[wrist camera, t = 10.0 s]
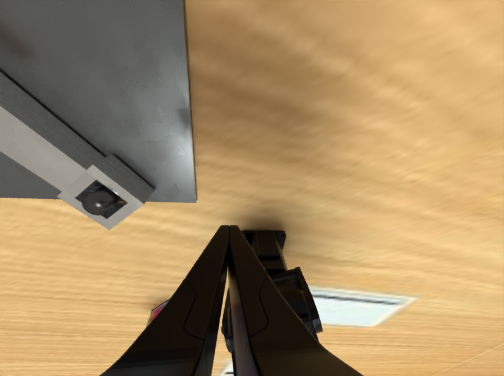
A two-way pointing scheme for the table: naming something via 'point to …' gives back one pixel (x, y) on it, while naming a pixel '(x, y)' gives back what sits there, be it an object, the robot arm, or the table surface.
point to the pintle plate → (105, 88)
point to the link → (64, 156)
